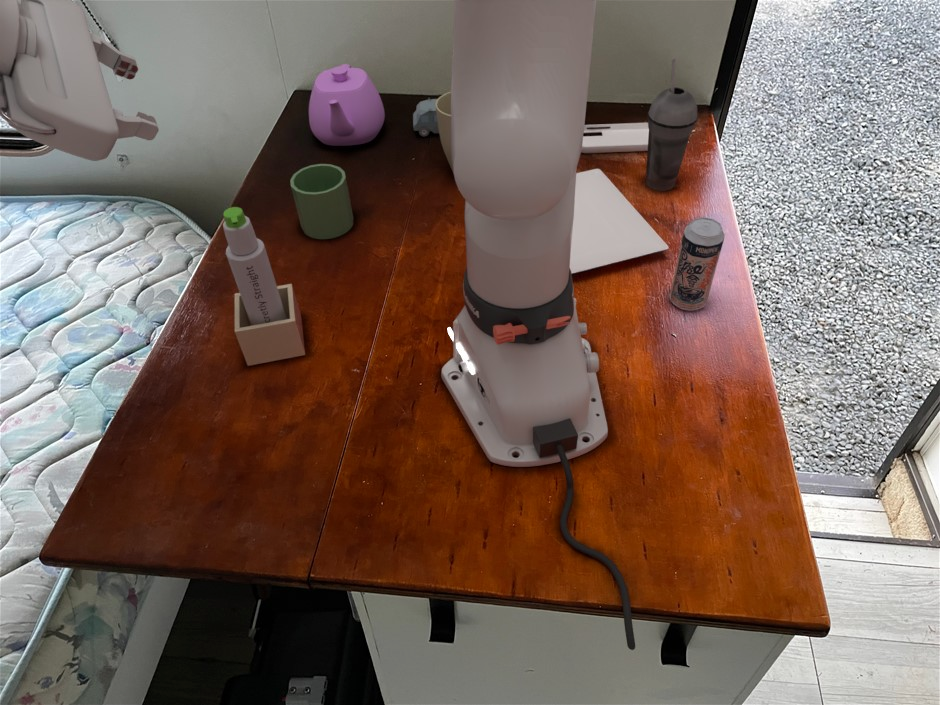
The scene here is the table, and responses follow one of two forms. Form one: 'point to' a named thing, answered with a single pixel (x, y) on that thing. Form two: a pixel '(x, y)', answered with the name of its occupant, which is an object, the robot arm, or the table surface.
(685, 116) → the beverage cup
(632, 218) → the plate
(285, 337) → the ivory holder
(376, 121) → the teapot
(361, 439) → the table surface
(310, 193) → the green cup
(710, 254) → the beer can
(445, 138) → the mug
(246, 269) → the bottle
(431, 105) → the toy car
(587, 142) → the phone case
